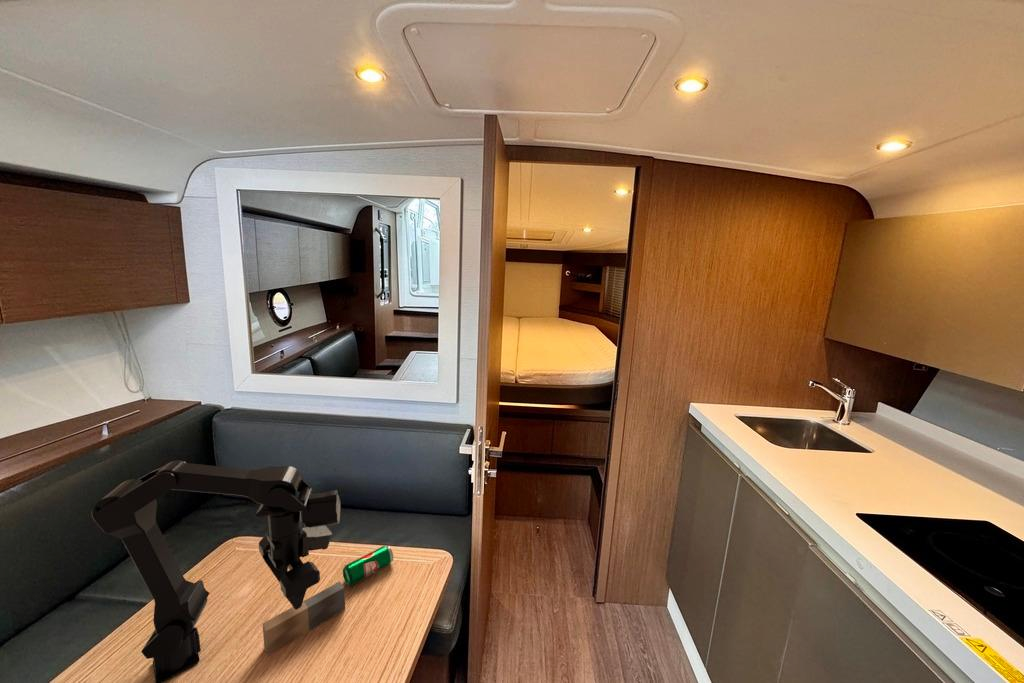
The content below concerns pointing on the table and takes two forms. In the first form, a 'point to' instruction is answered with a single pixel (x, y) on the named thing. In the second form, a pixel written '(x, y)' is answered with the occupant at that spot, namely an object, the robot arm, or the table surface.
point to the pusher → (303, 618)
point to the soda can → (367, 565)
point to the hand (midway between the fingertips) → (290, 594)
